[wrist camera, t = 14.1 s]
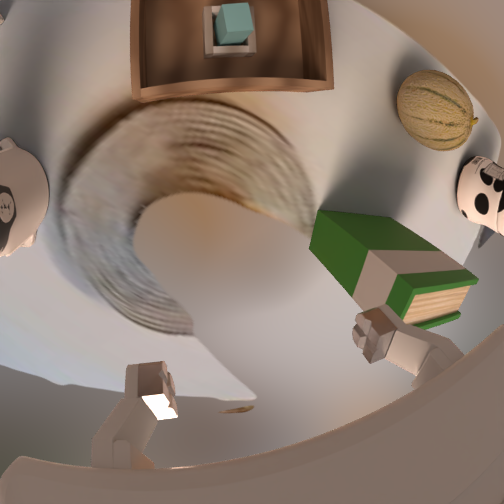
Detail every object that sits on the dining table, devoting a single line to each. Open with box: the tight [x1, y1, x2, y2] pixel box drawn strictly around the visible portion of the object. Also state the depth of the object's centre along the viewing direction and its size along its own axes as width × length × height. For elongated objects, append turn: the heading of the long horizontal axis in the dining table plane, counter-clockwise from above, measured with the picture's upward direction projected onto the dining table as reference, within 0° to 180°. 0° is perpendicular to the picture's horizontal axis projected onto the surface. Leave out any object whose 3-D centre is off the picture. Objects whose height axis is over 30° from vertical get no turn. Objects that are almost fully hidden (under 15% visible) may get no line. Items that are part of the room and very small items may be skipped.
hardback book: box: [309, 210, 479, 330], centre depth 39 cm, size 18×7×24 cm, turn 82°
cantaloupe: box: [397, 70, 478, 151], centre depth 33 cm, size 15×15×15 cm
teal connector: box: [213, 3, 254, 46], centre depth 25 cm, size 3×4×8 cm
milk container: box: [456, 156, 504, 237], centre depth 45 cm, size 17×17×18 cm
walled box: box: [130, 0, 334, 103], centre depth 25 cm, size 24×18×8 cm
